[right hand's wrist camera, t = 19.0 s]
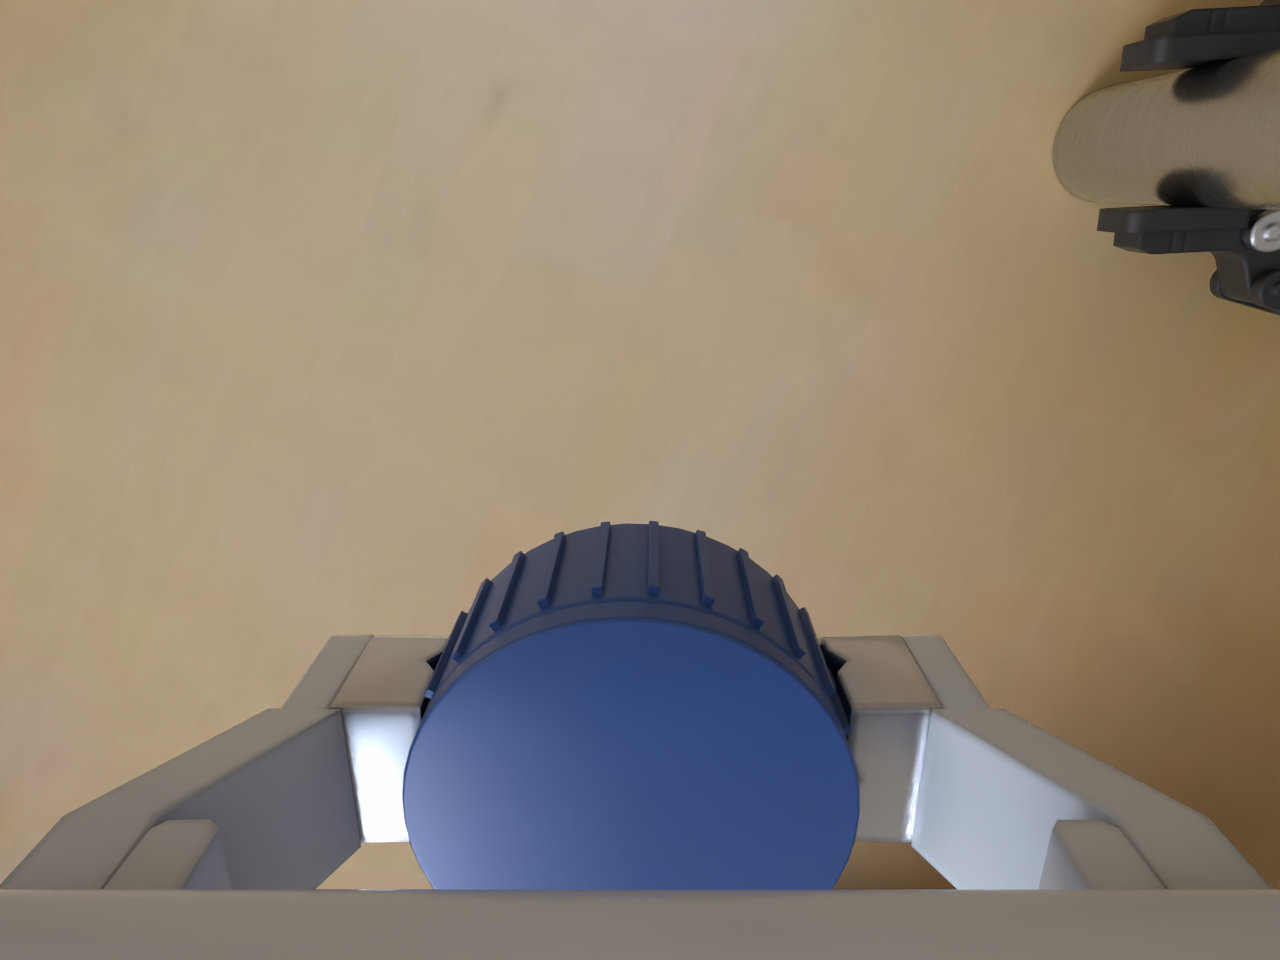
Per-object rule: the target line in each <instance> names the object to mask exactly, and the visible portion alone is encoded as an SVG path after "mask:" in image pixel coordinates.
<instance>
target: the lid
mask: <svg viewBox="0 0 1280 960" xmlns="http://www.w3.org/2000/svg"><path fill="white" fill-rule="evenodd" d="M424 696H425V697H427V698H430V701H429V704H428V706H427V708H426V711H425V713H424V715H423V718H422V720H421V722H420V725H419V727H418V730H417V732H416V734H415V737H414V739H413V741H412V744H411V746H410V748H409V752H408V757H407V761H406V765H405V769H404V776H403V790H402V801H403V811H404V821H405V825H406V829H407V833H408V837H409V841H410V844H411V847H412V849H413V851H414V854H415V856H416V858H417V861H418V863H419V865H420V867H421V869H422V871H423V872H424V874H425V875H426V877H427V879H428V880H429V882H430V884H431V885H432V887H433V888H434V889H435V890H832V888H833V887H834V885H835V884H836V883H837V881H838V879H839V877H840V875H841V873H842V871H843V869H844V867H845V865H846V864H847V862H848V859H849V856H850V853H851V850H852V847H853V844H854V841H855V838H856V834H857V828H858V821H859V815H860V786H859V781H858V774H857V769H856V764H855V761H854V758H853V755H852V752H851V749H850V746H849V743H848V740H847V737H846V736H847V735H849V733H852V731H851V727H850V725H849V722H848V720H847V717H846V715H845V712H844V710H843V707H842V705H841V702H840V700H839V697H838V695H837V692H836V682H835V680H834V677H833V674H832V671H831V669H830V668H828V667H827V665H826V662H825V659H824V657H823V654H822V651H821V648H820V645H819V642H818V640H817V637H816V634H815V631H814V628H813V625H812V623H811V620H810V617H809V614H808V612H807V610H806V609H805V607H803V608H801V609H799V608H798V607H797V605H796V604H795V603H794V601H793V600H792V599H791V597H790V596H789V595H788V593H787V592H786V589H785V586H784V583H783V580H782V579H781V578H780V577H779V576H778V575H776V576H774V577H772V576H771V575H770V574H769V573H768V572H767V571H765V570H764V569H763V568H761V567H760V566H759V565H758V564H756V563H755V562H754V561H752V560H751V559H750V558H749V556H748V552H747V551H745V550H743V549H742V548H740V549H739V551H736V550H734V549H733V548H731V547H729V546H727V545H725V544H723V543H720V542H718V541H716V540H713V539H711V538H708V537H706V534H705V532H703V531H700V530H697V531H696V533H693V532H689V531H686V530H682V529H679V528H672V527H666V526H659V525H658V522H656V521H649V524H618V525H610V522H602V523H601V526H599V527H594V528H589V529H585V530H580V531H575V532H573V533H570V534H567V535H564V532H560V533H557V534H555V536H554V539H552V540H550V541H548V542H546V543H544V544H542V545H540V546H538V547H536V548H534V549H532V550H530V551H528V552H527V553H525V554H523V553H522V551H520V552H518V553H517V554H515V555H514V557H513V560H512V563H510V564H509V565H508V566H507V567H506V568H505V569H504V570H502V571H501V572H500V573H499V574H498V575H497V576H496V577H495V578H493V579H492V580H491V581H490V580H489V579H487V578H486V579H485V580H484V581H483V582H482V583H481V586H480V588H479V591H478V593H477V595H476V598H475V600H474V602H473V605H472V607H471V608H470V610H469V612H468V613H465V612H463V611H461V613H460V615H459V616H458V619H457V621H456V623H455V625H454V628H453V630H452V632H451V634H450V637H449V639H448V641H447V643H446V646H445V648H444V650H443V653H442V655H441V657H440V659H439V662H438V664H437V666H436V668H435V671H434V673H433V675H432V677H431V680H430V682H429V684H428V686H427V689H426V691H425V693H424Z"/></svg>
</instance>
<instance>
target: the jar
mask: <svg viewBox="0 0 1280 960" xmlns="http://www.w3.org/2000/svg"><path fill="white" fill-rule="evenodd" d="M1053 163H1054V168H1055V172H1056V175H1057V177H1058V179H1059V181H1060V182H1061V184H1062V185H1063V186H1064V187H1065V188H1066V190H1067V191H1069V192H1070V193H1071V194H1072V195H1074V196H1076V197H1078V198H1080V199H1083V200H1087V201H1092V202H1112V203H1135V204H1158V205H1183V206H1205V207H1226V208H1249V209H1272V210H1280V49H1279V50H1275V51H1270V52H1265V53H1261V54H1256V55H1252V56H1247V57H1243V58H1238V59H1234V60H1229V61H1225V62H1220V63H1215V64H1211V65H1206V66H1202V67H1197V68H1193V69H1188V70H1184V71H1179V72H1175V73H1170V74H1166V75H1161V76H1156V77H1152V78H1147V79H1143V80H1138V81H1134V82H1129V83H1125V84H1120V85H1116V86H1111V87H1106V88H1103V89H1100V90H1097V91H1095V92H1093V93H1091V94H1089V95H1088V96H1086V97H1084V98H1083V99H1082V100H1080V101H1079V102H1078V103H1077V104H1076V105H1075V106H1074V107H1073V108H1072V109H1071V110H1070V111H1069V113H1068V114H1067V115H1066V116H1065V118H1064V120H1063V121H1062V123H1061V125H1060V127H1059V129H1058V131H1057V134H1056V137H1055V141H1054V146H1053Z"/></svg>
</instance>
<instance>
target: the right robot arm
mask: <svg viewBox="0 0 1280 960" xmlns="http://www.w3.org/2000/svg"><path fill="white" fill-rule="evenodd" d="M448 639H449V637H448V636H396V635H377V636H374V635H372V634H370V635H337V636H333V637H331V638H330V639H329V640H328V641H327V643H326V644H325V645H324V647H323V648H322V650H321V651H320V653H319V654H318V656H317V657H316V659H315V660H314V661H313V663H312V664H311V666H310V667H309V669H308V670H307V672H306V673H305V674H304V676H303V677H302V679H301V680H300V682H299V683H298V685H297V686H296V687H295V689H294V690H293V692H292V693H291V695H290V696H289V698H288V699H287V700H286V702H285V703H284V705H283V706H282V708H281V709H267V710H265V711H263V712H261V713H259V714H257V715H255V716H254V717H252V718H250V719H248V720H246V721H244V722H242V723H240V724H238V725H236V726H234V727H233V728H231V729H229V730H227V731H225V732H223V733H221V734H219V735H217V736H215V737H213V738H212V739H210V740H208V741H206V742H204V743H202V744H200V745H198V746H196V747H194V748H192V749H191V750H189V751H187V752H185V753H183V754H181V755H179V756H177V757H175V758H173V759H171V760H170V761H168V762H166V763H164V764H162V765H160V766H158V767H156V768H154V769H152V770H150V771H149V772H147V773H145V774H143V775H141V776H139V777H137V778H135V779H133V780H131V781H129V782H128V783H126V784H124V785H122V786H120V787H118V788H116V789H114V790H112V791H110V792H108V793H107V794H105V795H103V796H101V797H99V798H97V799H95V800H93V801H91V802H89V803H87V804H86V805H84V806H82V807H80V808H78V809H76V810H74V811H72V812H70V813H68V814H66V815H64V816H63V817H62V818H61V819H60V820H59V821H58V822H57V824H56V825H55V826H54V827H53V828H52V829H51V830H50V831H49V832H48V833H47V834H46V835H45V837H44V838H43V839H42V840H41V841H40V842H39V843H38V844H37V845H36V846H35V847H34V849H33V850H32V851H31V852H30V853H29V854H28V855H27V856H26V857H25V858H24V859H23V861H22V862H21V863H20V864H19V865H18V866H17V867H16V868H15V869H14V870H13V871H12V873H11V874H10V875H9V876H8V877H7V878H6V879H5V880H4V881H3V882H2V883H1V885H0V960H1280V889H1272V888H1271V887H1270V886H1269V884H1268V883H1267V882H1266V881H1265V880H1264V879H1263V878H1262V877H1261V876H1260V874H1259V873H1258V872H1257V871H1256V870H1255V869H1254V868H1253V867H1252V865H1251V864H1250V863H1249V862H1248V861H1247V860H1246V859H1245V858H1244V857H1243V855H1242V854H1241V853H1240V852H1239V851H1238V850H1237V849H1236V848H1235V846H1234V845H1233V844H1232V843H1231V842H1230V841H1229V840H1228V839H1227V838H1226V836H1225V835H1224V834H1223V833H1222V832H1221V831H1220V830H1219V829H1218V828H1217V826H1216V825H1215V824H1214V823H1213V822H1212V821H1211V820H1210V819H1209V817H1207V816H1205V815H1203V814H1201V813H1199V812H1197V811H1195V810H1194V809H1192V808H1190V807H1188V806H1186V805H1184V804H1182V803H1180V802H1178V801H1177V800H1175V799H1173V798H1171V797H1169V796H1167V795H1165V794H1163V793H1162V792H1160V791H1158V790H1156V789H1154V788H1152V787H1150V786H1148V785H1146V784H1145V783H1143V782H1141V781H1139V780H1137V779H1135V778H1133V777H1131V776H1129V775H1128V774H1126V773H1124V772H1122V771H1120V770H1118V769H1116V768H1114V767H1112V766H1111V765H1109V764H1107V763H1105V762H1103V761H1101V760H1099V759H1097V758H1096V757H1094V756H1092V755H1090V754H1088V753H1086V752H1084V751H1082V750H1080V749H1079V748H1077V747H1075V746H1073V745H1071V744H1069V743H1067V742H1065V741H1063V740H1062V739H1060V738H1058V737H1056V736H1054V735H1052V734H1050V733H1048V732H1046V731H1045V730H1043V729H1041V728H1039V727H1037V726H1035V725H1033V724H1031V723H1030V722H1028V721H1026V720H1024V719H1022V718H1020V717H1018V716H1016V715H1014V714H1013V713H1011V712H1009V711H1007V710H1005V709H991V708H990V706H989V705H988V703H987V702H986V700H985V699H984V697H983V696H982V695H981V693H980V692H979V690H978V689H977V687H976V686H975V684H974V683H973V681H972V680H971V678H970V677H969V676H968V674H967V673H966V671H965V670H964V668H963V667H962V665H961V664H960V662H959V661H958V659H957V658H956V657H955V655H954V654H953V652H952V651H951V649H950V648H949V646H948V645H947V643H946V642H945V640H944V639H943V638H942V637H940V636H938V635H936V634H928V635H904V636H859V637H822V638H818V642H819V645H820V648H821V651H822V654H823V657H824V659H825V662H826V665H827V667H828V668H830V669H831V671H832V674H833V677H834V680H835V682H836V692H837V695H838V697H839V700H840V702H841V705H842V707H843V710H844V712H845V715H846V717H847V720H848V722H849V725H850V727H851V731H852V733H849V735H847V736H846V737H847V740H848V743H849V746H850V749H851V752H852V755H853V758H854V761H855V764H856V769H857V774H858V781H859V786H860V815H859V821H858V828H857V834H856V838H855V841H872V842H909V843H912V845H911V846H912V847H913V848H914V849H915V850H916V851H917V852H918V853H919V854H920V855H922V856H923V857H924V858H925V859H926V860H927V861H928V862H929V863H930V864H931V865H932V866H933V867H934V868H935V869H936V870H937V871H939V872H940V873H941V874H942V875H943V876H944V877H945V878H946V879H947V880H948V881H949V882H950V883H951V884H952V885H953V886H954V887H955V888H957V889H958V890H374V889H316V888H317V887H318V886H319V885H320V884H321V883H322V882H323V881H324V880H326V879H327V878H328V877H329V876H330V875H331V874H332V873H333V872H334V871H335V870H336V869H337V868H338V867H340V866H341V865H342V864H343V863H344V862H345V861H346V860H347V859H348V858H349V857H350V856H351V855H352V854H353V853H355V852H356V851H357V850H358V849H359V848H360V847H361V844H360V843H364V842H399V841H409V837H408V833H407V829H406V825H405V821H404V811H403V801H402V790H403V776H404V769H405V765H406V761H407V757H408V752H409V748H410V746H411V744H412V741H413V739H414V737H415V734H416V732H417V730H418V727H419V725H420V722H421V720H422V718H423V715H424V713H425V711H426V708H427V706H428V704H429V701H430V698H427V697H425V696H424V693H425V691H426V689H427V686H428V684H429V682H430V680H431V677H432V675H433V673H434V671H435V668H436V666H437V664H438V662H439V659H440V657H441V655H442V653H443V650H444V648H445V646H446V643H447V641H448Z"/></svg>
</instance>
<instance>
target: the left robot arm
mask: <svg viewBox="0 0 1280 960" xmlns="http://www.w3.org/2000/svg"><path fill="white" fill-rule="evenodd" d="M1279 49H1280V0H1264V1H1263V2H1262V3H1261V5H1260V6H1250V7H1230V8H1214V9H1212V8H1210V9H1193V10H1190V11H1186V12H1183V13H1180V14H1177V15H1174V16H1170V17H1167V18H1164V19H1162V20H1160V21H1158V22H1155V23H1153V24H1151V25H1149V26H1147V27H1146V31H1145V38H1144V40H1143V41H1140V42H1136V43H1133V44H1129V45H1126V46H1124V47H1123V53H1122V60H1121V67H1120V71H1145V70H1165V69H1185V68H1197V67H1202V66H1206V65H1211V64H1215V63H1220V62H1225V61H1229V60H1234V59H1238V58H1243V57H1247V56H1252V55H1256V54H1261V53H1265V52H1270V51H1275V50H1279ZM1097 231H1105V232H1115V237H1114V244H1113V246H1116V247H1119V248H1121V249H1124V250H1126V251H1132V252H1140V253H1147V254H1166V253H1186V252H1207V251H1210V252H1211V253H1212V254H1213V256H1214V257H1215V260H1216V264H1217V270H1216V271H1215V272H1214V274H1213V275H1212V277H1211V280H1210V290H1211V292H1212V294H1213V295H1214V296H1216V297H1218V298H1221V299H1224V300H1228V301H1231V302H1235V303H1238V304H1242V305H1245V306H1249V307H1252V308H1255V309H1259V310H1262V311H1266V312H1269V313H1273V314H1276V315H1280V210H1272V209H1249V208H1226V207H1205V206H1183V205H1163V206H1143V207H1123V208H1104V209H1100V213H1099V220H1098V227H1097Z"/></svg>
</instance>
